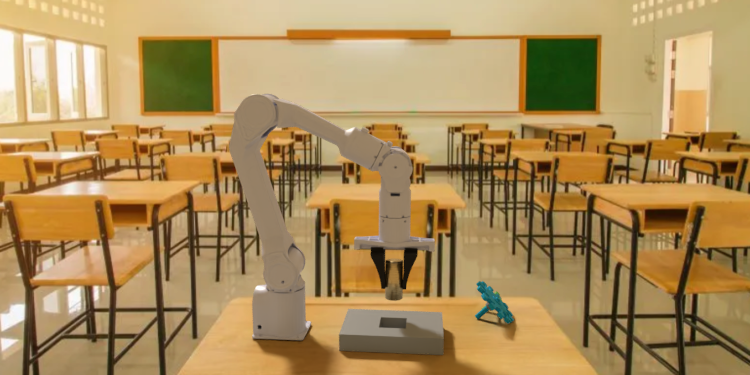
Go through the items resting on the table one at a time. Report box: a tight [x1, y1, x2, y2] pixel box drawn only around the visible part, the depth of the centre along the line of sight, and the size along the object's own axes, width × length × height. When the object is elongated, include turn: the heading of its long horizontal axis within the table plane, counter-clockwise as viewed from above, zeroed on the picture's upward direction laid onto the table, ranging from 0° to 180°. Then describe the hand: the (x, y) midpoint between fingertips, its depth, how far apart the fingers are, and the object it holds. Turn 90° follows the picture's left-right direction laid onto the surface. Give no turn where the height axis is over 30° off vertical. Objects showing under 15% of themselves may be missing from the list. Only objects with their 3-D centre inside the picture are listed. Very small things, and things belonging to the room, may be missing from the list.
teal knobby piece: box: [474, 280, 515, 325], centre depth 116 cm, size 11×6×10 cm
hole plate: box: [338, 308, 445, 356], centre depth 107 cm, size 18×12×3 cm, turn 85°
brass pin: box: [384, 258, 404, 302], centre depth 108 cm, size 3×3×7 cm
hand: (393, 287), depth 108 cm, fingers closed on brass pin, 3 cm apart
